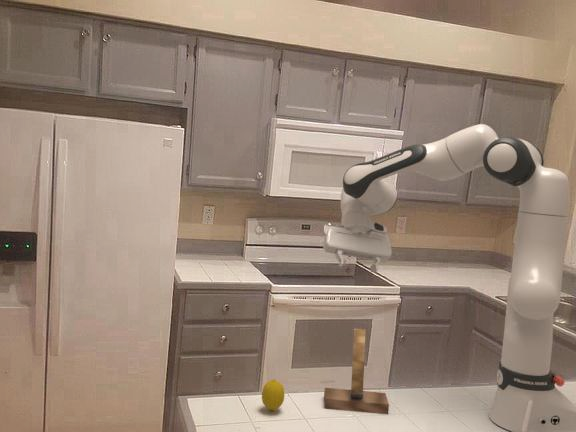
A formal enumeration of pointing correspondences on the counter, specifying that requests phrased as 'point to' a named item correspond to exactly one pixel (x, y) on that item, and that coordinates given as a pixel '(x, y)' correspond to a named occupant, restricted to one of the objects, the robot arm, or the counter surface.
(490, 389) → the counter surface
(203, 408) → the counter surface
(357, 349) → the tan wooden peg
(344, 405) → the brown wooden block
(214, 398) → the counter surface
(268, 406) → the lemon
